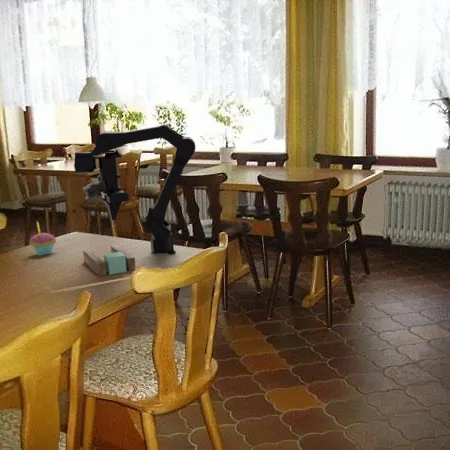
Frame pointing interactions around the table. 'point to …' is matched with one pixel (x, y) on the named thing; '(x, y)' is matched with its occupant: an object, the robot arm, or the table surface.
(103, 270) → the chute
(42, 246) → the cupcake
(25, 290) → the table surface
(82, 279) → the table surface
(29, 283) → the table surface
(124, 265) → the teal block
